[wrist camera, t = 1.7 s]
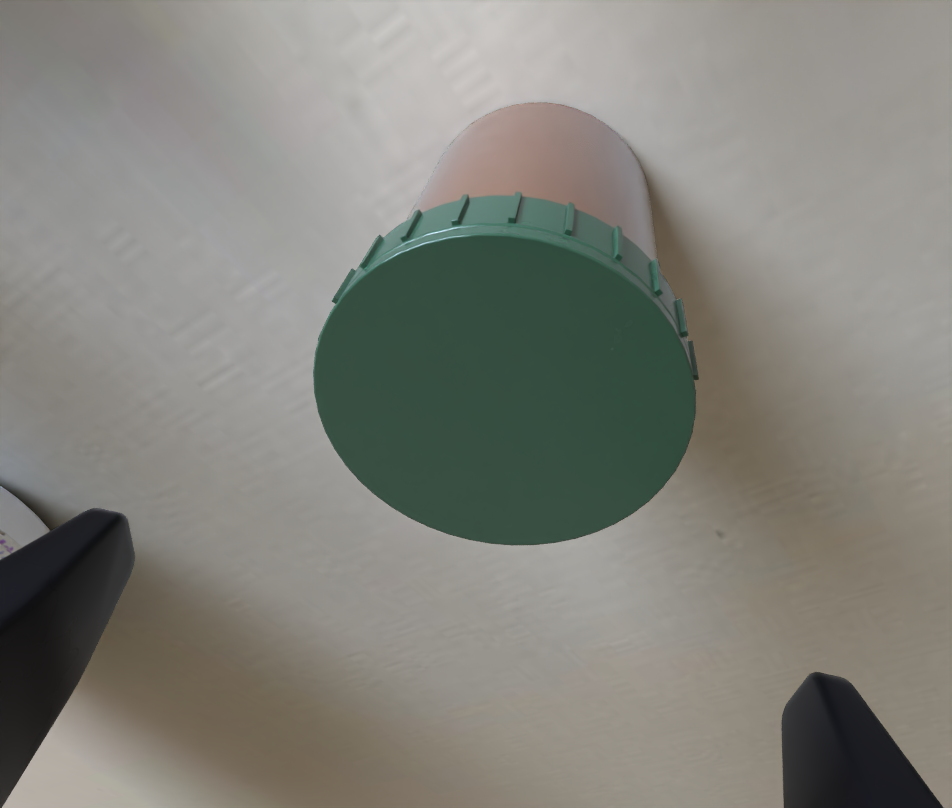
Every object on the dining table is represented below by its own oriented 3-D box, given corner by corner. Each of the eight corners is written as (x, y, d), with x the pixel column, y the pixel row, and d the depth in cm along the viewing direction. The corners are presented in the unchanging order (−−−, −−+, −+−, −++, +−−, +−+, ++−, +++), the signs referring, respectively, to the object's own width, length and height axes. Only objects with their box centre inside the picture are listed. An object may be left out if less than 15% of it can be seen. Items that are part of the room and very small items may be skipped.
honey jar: (544, 350, 22) (517, 559, 16) (386, 224, 21) (280, 398, 14) (699, 210, 19) (747, 398, 13) (526, 47, 17) (476, 164, 11)
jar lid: (524, 537, 17) (517, 593, 16) (275, 364, 15) (243, 413, 14) (771, 360, 13) (789, 414, 12) (484, 101, 11) (468, 132, 10)
